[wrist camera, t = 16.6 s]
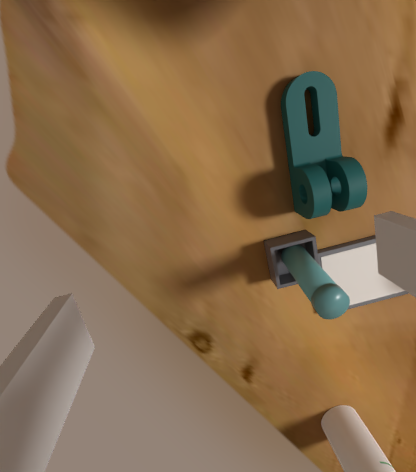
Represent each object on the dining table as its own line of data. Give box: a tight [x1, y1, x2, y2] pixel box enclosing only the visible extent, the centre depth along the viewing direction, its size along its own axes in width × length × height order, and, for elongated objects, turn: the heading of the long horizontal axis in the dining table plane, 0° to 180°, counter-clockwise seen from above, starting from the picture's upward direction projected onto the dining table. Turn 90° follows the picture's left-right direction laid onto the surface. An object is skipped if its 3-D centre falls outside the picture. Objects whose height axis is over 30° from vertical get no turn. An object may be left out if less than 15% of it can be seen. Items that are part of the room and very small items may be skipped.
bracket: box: [281, 71, 367, 219], centre depth 40 cm, size 18×7×8 cm, turn 12°
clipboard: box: [317, 235, 408, 309], centre depth 49 cm, size 11×15×2 cm
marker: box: [278, 244, 350, 319], centre depth 40 cm, size 4×4×14 cm
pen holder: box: [264, 230, 319, 289], centre depth 46 cm, size 7×7×4 cm
